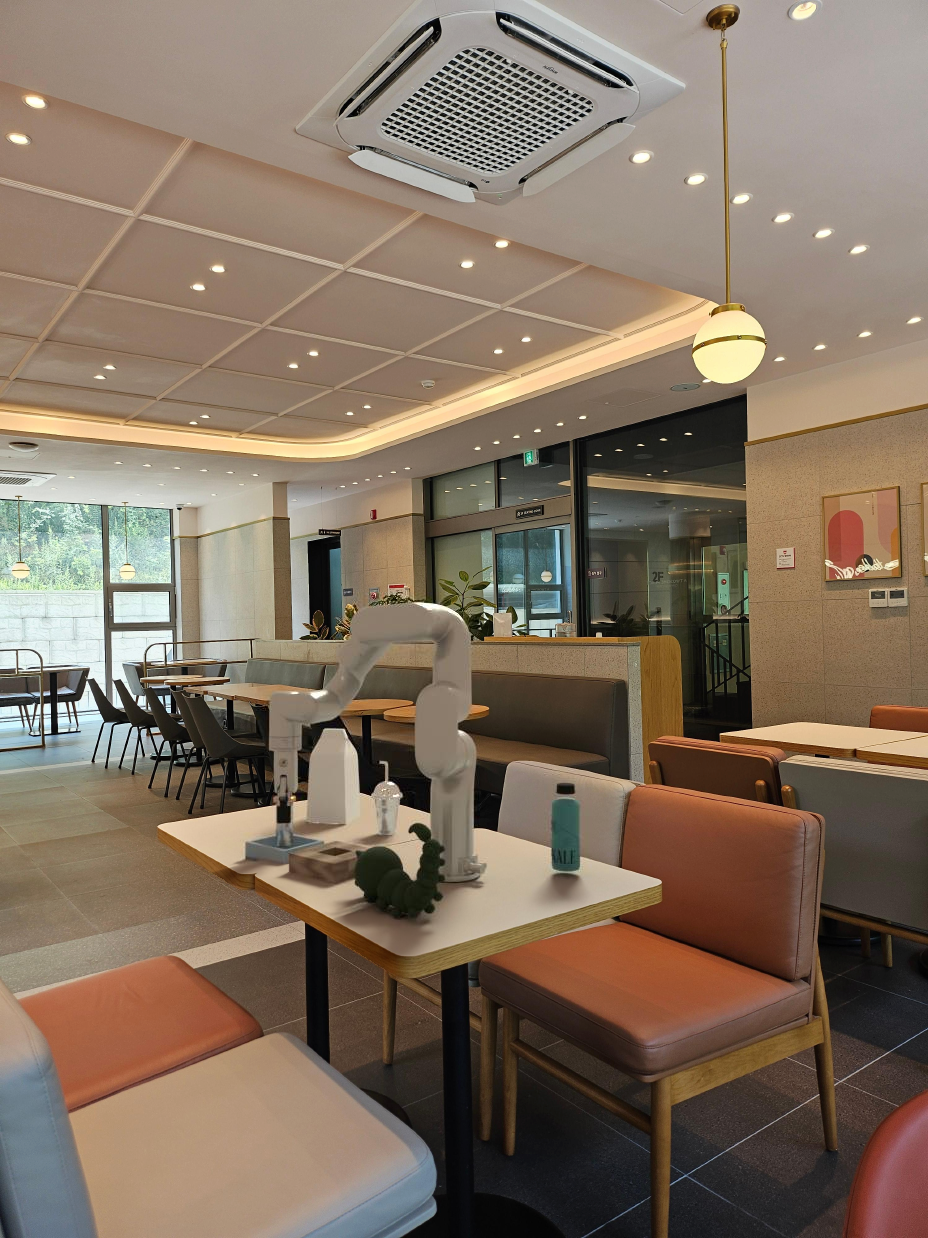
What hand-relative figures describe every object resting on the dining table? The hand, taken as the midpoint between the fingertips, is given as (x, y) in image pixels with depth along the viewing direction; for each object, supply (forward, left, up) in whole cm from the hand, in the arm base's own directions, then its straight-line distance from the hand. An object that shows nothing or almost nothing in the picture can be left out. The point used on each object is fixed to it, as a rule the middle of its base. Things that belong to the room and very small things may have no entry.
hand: (284, 819), depth 195 cm
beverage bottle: (-60, -28, -9) cm, 67 cm away
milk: (+22, -37, -9) cm, 44 cm away
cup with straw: (-2, -33, -9) cm, 34 cm away
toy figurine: (-46, +12, -9) cm, 49 cm away
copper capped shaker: (0, 0, -6) cm, 6 cm away
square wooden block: (-20, +3, -9) cm, 22 cm away
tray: (0, 0, -9) cm, 9 cm away
